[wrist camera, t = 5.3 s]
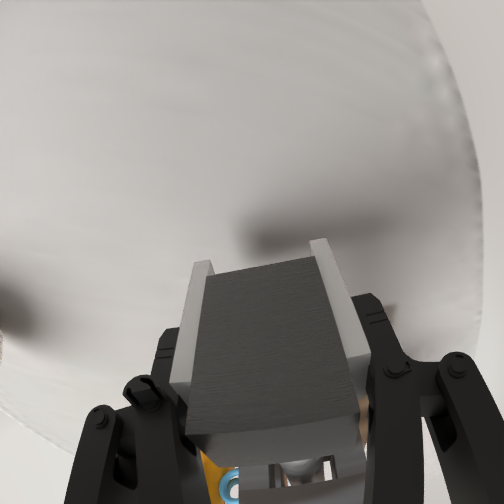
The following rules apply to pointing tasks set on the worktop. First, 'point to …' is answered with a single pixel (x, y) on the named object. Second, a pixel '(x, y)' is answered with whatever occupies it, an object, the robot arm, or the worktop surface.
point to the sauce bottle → (0, 345)
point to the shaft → (271, 373)
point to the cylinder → (219, 481)
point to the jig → (314, 494)
